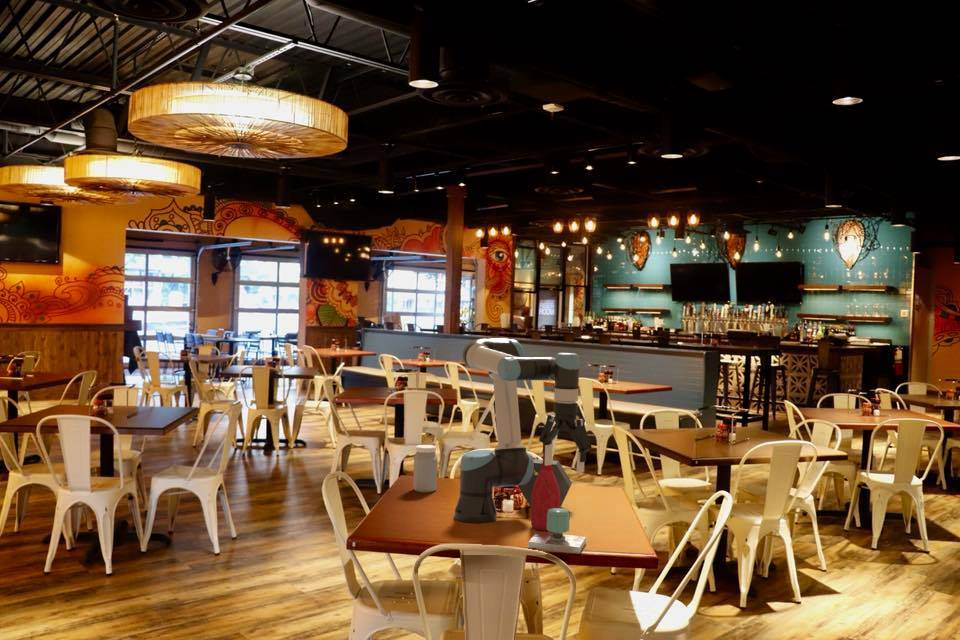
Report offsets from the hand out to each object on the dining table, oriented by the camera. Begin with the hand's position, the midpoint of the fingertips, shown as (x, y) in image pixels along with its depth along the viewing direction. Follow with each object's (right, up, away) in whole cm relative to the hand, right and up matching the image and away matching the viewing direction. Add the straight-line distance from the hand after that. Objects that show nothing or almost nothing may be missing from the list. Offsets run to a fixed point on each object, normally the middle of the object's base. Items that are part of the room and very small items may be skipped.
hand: (563, 468), depth 250 cm
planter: (-2, -24, +48) cm, 53 cm away
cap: (-2, -19, -1) cm, 19 cm away
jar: (-49, -23, +72) cm, 90 cm away
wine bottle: (-5, -24, +19) cm, 31 cm away
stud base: (-2, -24, -1) cm, 24 cm away
